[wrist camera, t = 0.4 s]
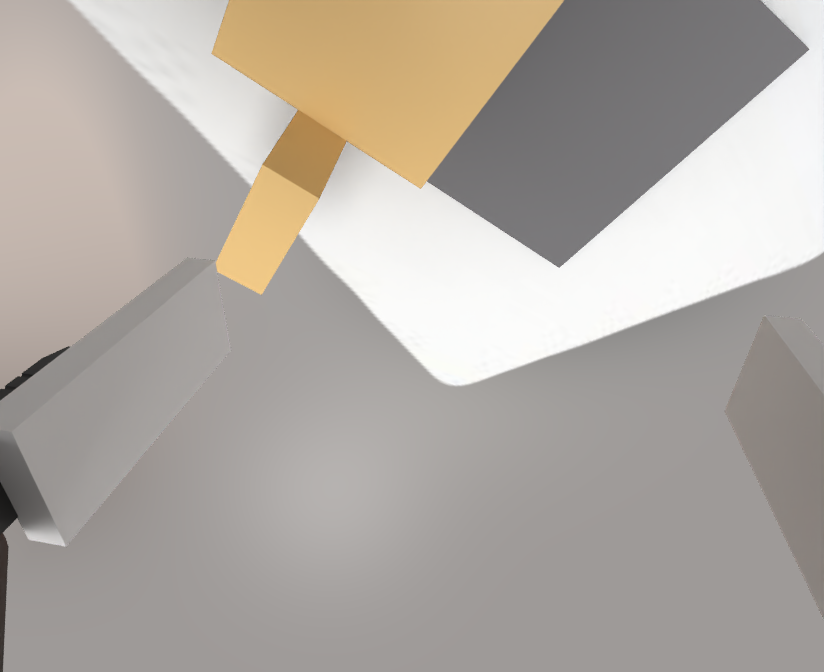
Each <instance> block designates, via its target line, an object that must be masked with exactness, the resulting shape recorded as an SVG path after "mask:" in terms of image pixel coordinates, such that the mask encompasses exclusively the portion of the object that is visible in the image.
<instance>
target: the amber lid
mask: <svg viewBox="0 0 824 672" xmlns="http://www.w3.org/2000/svg"><path fill="white" fill-rule="evenodd" d="M563 1H564V0H229V2H228V5H227V8H226V11H225V14H224V17H223V20H222V23H221V26H220V29H219V33H218V36H217V39H216V42H215V45H214V48H213V51H212V54H213V55H214V56H216V57H217V58H219V59H221V60H222V61H224V62H225V63H227V64H228V65H230V66H231V67H233V68H234V69H236V70H238V71H239V72H241V73H242V74H244V75H245V76H247V77H248V78H250V79H251V80H253V81H255V82H256V83H258V84H259V85H261V86H262V87H264V88H265V89H267V90H269V91H270V92H272V93H273V94H275V95H276V96H278V97H279V98H281V99H282V100H284V101H286V102H287V103H289V104H290V105H292V106H293V107H295V108H296V109H298V111H297V113H296V114H295V116H294V117H293V119H292V120H291V122H290V124H289V125H288V127H287V128H286V130H285V131H284V133H283V134H282V136H281V137H280V139H279V140H278V142H277V143H276V145H275V146H274V148H273V149H272V151H271V152H270V154H269V155H268V157H267V158H266V160H265V162H264V163H263V165H262V167H261V169H260V171H259V173H258V175H257V177H256V179H255V181H254V183H253V186H252V188H251V190H250V192H249V194H248V196H247V198H246V200H245V202H244V205H243V207H242V209H241V211H240V213H239V215H238V217H237V219H236V221H235V224H234V226H233V228H232V230H231V232H230V234H229V236H228V238H227V240H226V243H225V245H224V247H223V249H222V251H221V253H220V255H219V257H218V259H217V262H216V268H217V272H219V273H221V274H223V275H225V276H227V277H228V278H230V279H232V280H234V281H236V282H238V283H240V284H242V285H244V286H246V287H248V288H250V289H251V290H254V291H255V292H257V293H259V294H261V295H262V293H263V292H264V290H265V288H266V287H267V285H268V283H269V282H270V280H271V278H272V277H273V275H274V273H275V272H276V270H277V268H278V267H279V265H280V263H281V262H282V260H283V258H284V257H285V255H286V253H287V251H288V250H289V248H290V246H291V245H292V243H293V242H294V240H295V238H296V237H297V235H298V233H299V232H300V230H301V228H302V227H303V225H304V223H305V222H306V220H307V218H308V217H309V215H310V213H311V212H312V210H313V208H314V207H315V205H316V203H317V202H318V200H319V198H320V196H321V194H322V192H323V190H324V188H325V185H326V183H327V181H328V179H329V177H330V175H331V173H332V171H333V169H334V166H335V164H336V162H337V160H338V158H339V156H340V154H341V152H342V150H343V147H344V145H345V143H346V141H347V142H349V143H350V144H352V145H354V146H355V147H357V148H358V149H360V150H361V151H363V152H364V153H366V154H367V155H369V156H371V157H372V158H374V159H375V160H377V161H378V162H380V163H381V164H383V165H384V166H386V167H388V168H389V169H391V170H392V171H394V172H395V173H397V174H398V175H400V176H401V177H403V178H405V179H406V180H408V181H409V182H411V183H412V184H414V185H415V186H417V187H419V188H420V189H421V188H422V187H423V185H424V184H425V183H426V181H427V180H428V179H429V177H430V176H431V175H432V173H433V172H434V171H435V170H436V168H437V167H438V166H439V164H440V163H441V162H442V160H443V159H444V158H445V156H446V155H447V154H448V152H449V151H450V150H451V149H452V147H453V146H454V145H455V143H456V142H457V141H458V139H459V138H460V137H461V135H462V134H463V133H464V131H465V130H466V129H467V127H468V126H469V125H470V124H471V122H472V121H473V120H474V118H475V117H476V116H477V114H478V113H479V112H480V110H481V109H482V108H483V106H484V105H485V104H486V102H487V101H488V100H489V99H490V97H491V96H492V95H493V93H494V92H495V91H496V89H497V88H498V87H499V85H500V84H501V83H502V81H503V80H504V79H505V78H506V76H507V75H508V74H509V72H510V71H511V70H512V68H513V67H514V66H515V64H516V63H517V62H518V60H519V59H520V58H521V56H522V55H523V54H524V53H525V51H526V50H527V49H528V47H529V46H530V45H531V43H532V42H533V41H534V39H535V38H536V37H537V35H538V34H539V33H540V32H541V30H542V29H543V28H544V26H545V25H546V24H547V22H548V21H549V20H550V18H551V17H552V16H553V14H554V13H555V12H556V10H557V9H558V8H559V7H560V5H561V4H562V3H563Z"/></svg>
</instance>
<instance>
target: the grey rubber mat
mask: <svg viewBox="0 0 824 672" xmlns="http://www.w3.org/2000/svg"><path fill="white" fill-rule="evenodd" d="M808 50H809V48H808V47H807V46H805V45H804V44H803V43H802V42H801V41H800V40H799V39H798V38H797V37H796V36H795V35H794V34H793V33H792V32H791V31H790V30H789V29H788V28H787V27H786V26H785V25H784V24H783V23H782V22H781V21H780V20H779V19H778V18H777V17H776V16H775V15H774V14H773V13H772V12H771V11H770V10H769V9H768V8H767V7H766V6H765V5H764V4H763V3H762V2H761V1H760V0H564V1H563V3H562V4H561V5H560V7H559V8H558V9H557V10H556V12H555V13H554V14H553V16H552V17H551V18H550V20H549V21H548V22H547V24H546V25H545V26H544V28H543V29H542V30H541V32H540V33H539V34H538V35H537V37H536V38H535V39H534V41H533V42H532V43H531V45H530V46H529V47H528V49H527V50H526V51H525V53H524V54H523V55H522V56H521V58H520V59H519V60H518V62H517V63H516V64H515V66H514V67H513V68H512V70H511V71H510V72H509V74H508V75H507V76H506V78H505V79H504V80H503V81H502V83H501V84H500V85H499V87H498V88H497V89H496V91H495V92H494V93H493V95H492V96H491V97H490V99H489V100H488V101H487V102H486V104H485V105H484V106H483V108H482V109H481V110H480V112H479V113H478V114H477V116H476V117H475V118H474V120H473V121H472V122H471V124H470V125H469V126H468V127H467V129H466V130H465V131H464V133H463V134H462V135H461V137H460V138H459V139H458V141H457V142H456V143H455V145H454V146H453V147H452V149H451V150H450V151H449V152H448V154H447V155H446V156H445V158H444V159H443V160H442V162H441V163H440V164H439V166H438V167H437V168H436V170H435V171H434V172H433V173H432V175H431V176H430V177H429V179H428V180H427V182H429V183H430V184H432V185H434V186H435V187H437V188H438V189H440V190H441V191H443V192H444V193H446V194H447V195H449V196H450V197H452V198H453V199H455V200H456V201H458V202H460V203H461V204H463V205H464V206H466V207H467V208H469V209H470V210H472V211H473V212H475V213H476V214H478V215H479V216H481V217H482V218H484V219H485V220H487V221H489V222H490V223H492V224H493V225H495V226H496V227H498V228H499V229H501V230H502V231H504V232H505V233H507V234H508V235H510V236H511V237H513V238H515V239H516V240H518V241H519V242H521V243H522V244H524V245H525V246H527V247H528V248H530V249H531V250H533V251H534V252H536V253H537V254H539V255H540V256H542V257H544V258H545V259H547V260H548V261H550V262H551V263H553V264H554V265H556V266H557V267H561V266H562V265H563V264H564V263H565V262H566V261H567V260H569V259H570V258H571V257H572V256H573V255H574V254H576V253H577V252H578V251H579V250H580V249H581V248H582V247H584V246H585V245H586V244H587V243H588V242H589V241H590V240H592V239H593V238H594V237H595V236H596V235H597V234H598V233H600V232H601V231H602V230H603V229H604V228H605V227H606V226H608V225H609V224H610V223H611V222H612V221H613V220H614V219H616V218H617V217H618V216H619V215H620V214H621V213H623V212H624V211H625V210H626V209H627V208H628V207H629V206H631V205H632V204H633V203H634V202H635V201H636V200H637V199H639V198H640V197H641V196H642V195H643V194H644V193H645V192H647V191H648V190H649V189H650V188H651V187H652V186H653V185H655V184H656V183H657V182H658V181H659V180H660V179H661V178H663V177H664V176H665V175H666V174H667V173H668V172H670V171H671V170H672V169H673V168H674V167H675V166H676V165H678V164H679V163H680V162H681V161H682V160H683V159H684V158H686V157H687V156H688V155H689V154H690V153H691V152H692V151H694V150H695V149H696V148H697V147H698V146H699V145H700V144H702V143H703V142H704V141H705V140H706V139H707V138H708V137H710V136H711V135H712V134H713V133H714V132H715V131H716V130H718V129H719V128H720V127H721V126H722V125H723V124H725V123H726V122H727V121H728V120H729V119H730V118H731V117H733V116H734V115H735V114H736V113H737V112H738V111H739V110H741V109H742V108H743V107H744V106H745V105H746V104H747V103H749V102H750V101H751V100H752V99H753V98H754V97H755V96H757V95H758V94H759V93H760V92H761V91H762V90H763V89H765V88H766V87H767V86H768V85H769V84H770V83H772V82H773V81H774V80H775V79H776V78H777V77H778V76H780V75H781V74H782V73H783V72H784V71H785V70H786V69H788V68H789V67H790V66H791V65H792V64H793V63H794V62H796V61H797V60H798V59H799V58H800V57H801V56H802V55H804V54H805V53H806V52H807V51H808Z"/></svg>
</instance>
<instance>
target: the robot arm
mask: <svg viewBox="0 0 824 672" xmlns="http://www.w3.org/2000/svg"><path fill="white" fill-rule="evenodd" d="M230 351H231V346H230V340H229V335H228V330H227V324H226V318H225V312H224V307H223V301H222V296H221V290H220V285H219V279H218V274H217V268H216V263H215V261H214V260H206V259H196V258H186V259H185V260H184V261H182V262H181V263H180V264H179V265H177V266H176V267H175V268H173V269H172V270H171V271H169V272H168V273H167V274H165V275H164V276H163V277H161V278H160V279H159V280H158V281H156V282H155V283H154V284H152V285H151V286H150V287H148V288H147V289H146V290H145V291H143V292H142V293H141V294H139V295H138V296H137V297H135V298H134V299H133V300H131V301H130V302H129V303H128V304H126V305H125V306H123V307H122V308H121V309H120V310H118V311H117V312H116V313H115V314H113V315H112V316H110V317H109V318H108V319H107V320H105V321H104V322H103V323H101V324H100V325H99V326H97V327H96V328H95V329H93V330H92V331H91V332H90V333H88V334H87V335H85V336H84V337H83V338H82V339H80V340H79V341H78V342H76V343H75V344H74V345H72V346H71V347H66V348H64V349H62V350H59V351H57V352H55V353H53V354H51V355H49V356H46V357H44V358H42V359H41V360H39V361H38V362H37V363H35V364H34V365H33V366H31V367H30V368H28V370H26V371H24V372H23V373H22V376H21V377H17V378H15V379H14V380H13V381H11V382H10V383H8V384H7V385H6V386H5V389H0V672H3V655H4V632H5V631H4V630H5V611H6V588H7V586H6V585H7V566H8V545H7V541H6V538H5V536H4V534H3V532H4V531H5V530H6V529H7V528H8V526H10V525H11V524H12V523H13V522H14V520H15V519H16V518H18V520H19V522H20V524H21V526H22V528H23V530H24V532H25V533H26V535H27V537H28V539H29V540H33V541H39V542H44V543H50V544H55V545H60V546H67V545H68V544H69V543H70V542H71V540H72V539H73V538H74V537H75V536H76V534H77V533H78V532H79V531H80V530H81V528H82V527H83V526H84V525H85V524H86V523H87V521H88V520H89V519H90V518H91V517H92V515H93V514H94V513H95V512H96V511H97V509H98V508H99V507H100V506H101V505H102V503H103V502H104V501H105V500H106V499H107V498H108V496H109V495H110V494H111V493H112V492H113V490H114V489H115V488H116V487H117V485H118V484H119V483H120V482H121V481H122V480H123V479H124V477H125V476H126V475H127V474H128V473H129V471H130V470H131V469H132V468H133V467H134V465H135V464H136V463H137V462H138V461H139V459H140V458H141V457H142V456H143V455H144V454H145V452H146V451H147V450H148V449H149V447H150V446H151V445H152V444H153V443H154V442H155V440H156V439H157V438H158V437H159V436H160V434H161V433H162V432H163V431H164V430H165V429H166V427H167V426H168V425H169V424H170V423H171V421H172V420H173V419H174V418H175V417H176V415H177V414H178V413H179V412H180V411H181V409H182V408H183V407H184V406H185V405H186V403H187V402H188V401H189V400H190V399H191V398H192V396H193V395H194V394H195V393H196V392H197V390H198V389H199V388H200V387H201V386H202V385H203V383H204V382H205V381H206V380H207V379H208V377H209V376H210V375H211V374H212V373H213V371H214V370H215V369H216V368H217V367H218V365H219V364H220V363H221V362H222V361H223V360H224V358H225V357H226V356H227V355H228V354H229V352H230ZM725 413H726V415H727V417H728V419H729V422H730V423H731V426H732V428H733V430H734V432H735V434H736V436H737V438H738V440H739V443H740V445H741V447H742V449H743V451H744V453H745V455H746V457H747V459H748V461H749V464H750V466H751V468H752V470H753V472H754V474H755V476H756V478H757V480H758V483H759V485H760V487H761V488H762V491H763V493H764V495H765V497H766V499H767V501H768V504H769V506H770V507H771V510H772V512H773V514H774V516H775V518H776V520H777V522H778V524H779V526H780V529H781V531H782V533H783V535H784V537H785V539H786V541H787V543H788V546H789V547H790V550H791V552H792V554H793V556H794V558H795V560H796V562H797V564H798V567H799V569H800V571H801V573H802V575H803V577H804V579H805V581H806V583H807V585H808V588H809V590H810V592H811V594H812V596H813V598H814V600H815V602H816V604H817V606H818V608H819V611H820V613H821V615H822V617H823V619H824V345H823V344H822V343H821V342H820V340H819V339H818V338H817V337H816V335H815V334H814V333H813V332H812V331H811V330H810V328H809V327H808V326H807V325H806V324H805V323H804V321H803V320H802V319H799V318H789V317H779V316H769V315H764V317H763V319H762V322H761V324H760V326H759V329H758V331H757V334H756V336H755V339H754V341H753V343H752V346H751V348H750V350H749V353H748V356H747V358H746V360H745V363H744V365H743V368H742V370H741V373H740V375H739V377H738V380H737V382H736V384H735V387H734V389H733V391H732V394H731V396H730V399H729V401H728V404H727V406H726V408H725Z"/></svg>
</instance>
